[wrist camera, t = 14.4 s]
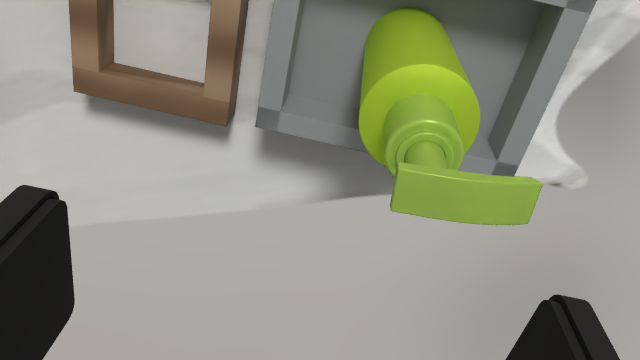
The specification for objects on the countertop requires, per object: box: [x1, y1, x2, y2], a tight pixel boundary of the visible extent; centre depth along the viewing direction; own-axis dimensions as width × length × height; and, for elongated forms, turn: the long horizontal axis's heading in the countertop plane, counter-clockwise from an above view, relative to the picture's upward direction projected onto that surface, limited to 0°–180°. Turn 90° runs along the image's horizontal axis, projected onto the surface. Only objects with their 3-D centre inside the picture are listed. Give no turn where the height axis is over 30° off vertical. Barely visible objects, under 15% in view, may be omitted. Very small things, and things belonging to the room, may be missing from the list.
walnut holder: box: [69, 0, 249, 126], centre depth 36 cm, size 13×12×2 cm
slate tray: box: [255, 0, 597, 176], centre depth 35 cm, size 14×19×4 cm
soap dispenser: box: [359, 7, 542, 225], centre depth 27 cm, size 6×7×20 cm
